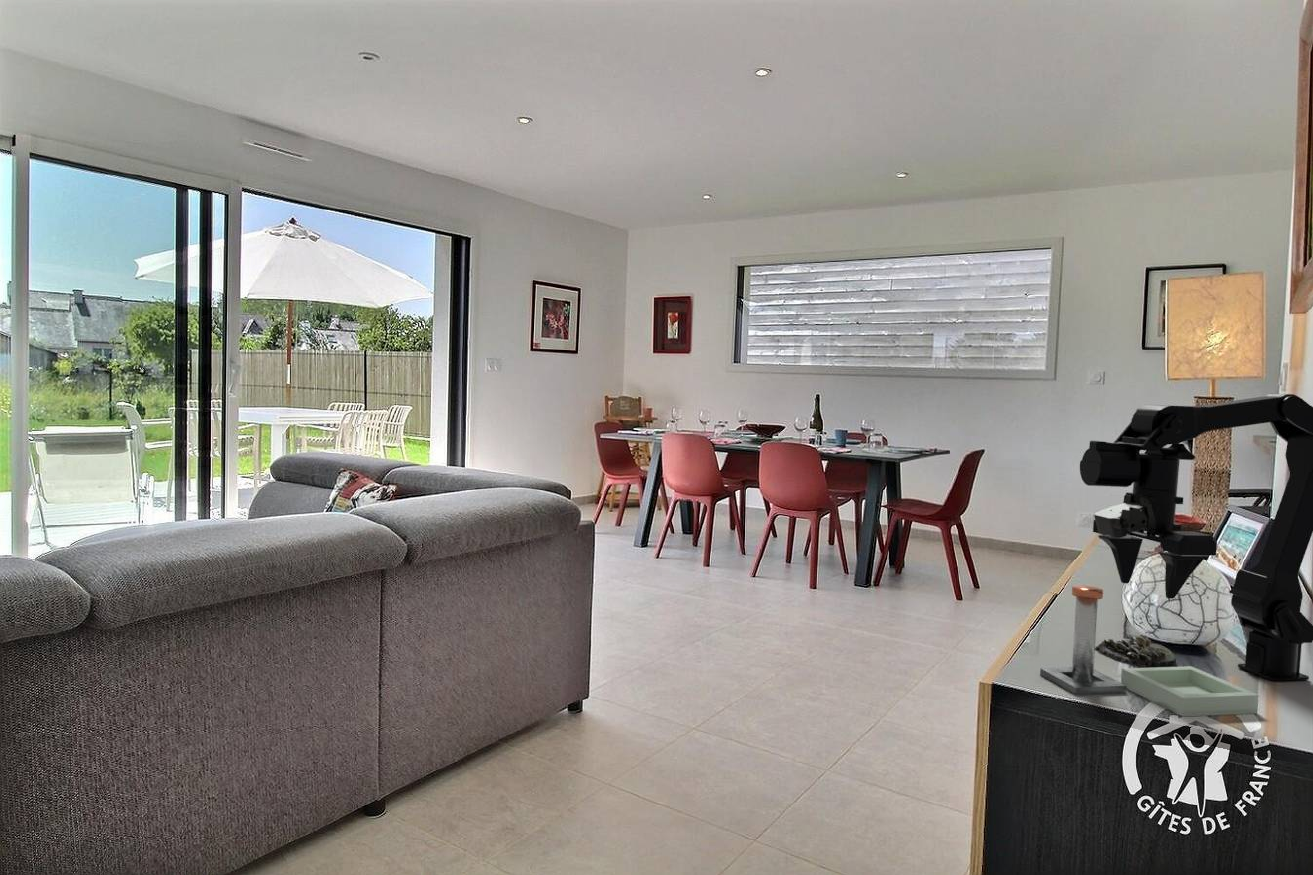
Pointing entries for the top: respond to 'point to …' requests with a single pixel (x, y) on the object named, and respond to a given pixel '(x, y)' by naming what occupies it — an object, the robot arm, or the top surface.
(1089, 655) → the pin
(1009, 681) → the top surface
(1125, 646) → the dark brown textured lump
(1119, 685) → the collar plate
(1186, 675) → the tray
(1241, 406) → the robot arm
